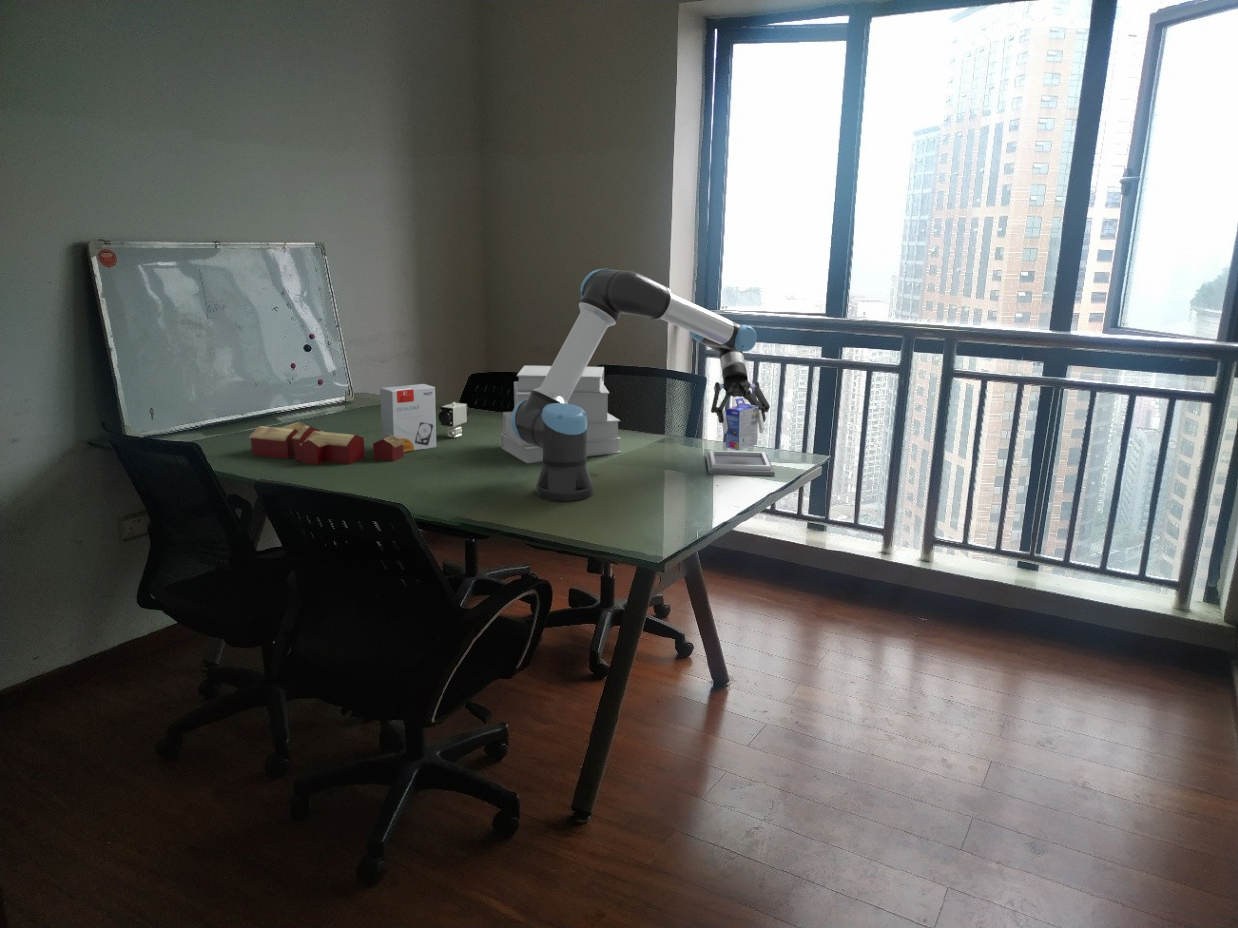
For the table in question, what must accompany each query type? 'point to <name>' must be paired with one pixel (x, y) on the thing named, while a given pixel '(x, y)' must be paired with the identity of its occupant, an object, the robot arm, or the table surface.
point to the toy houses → (319, 445)
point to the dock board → (739, 463)
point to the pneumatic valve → (454, 417)
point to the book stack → (585, 396)
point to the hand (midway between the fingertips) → (744, 431)
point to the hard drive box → (409, 415)
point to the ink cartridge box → (741, 425)
